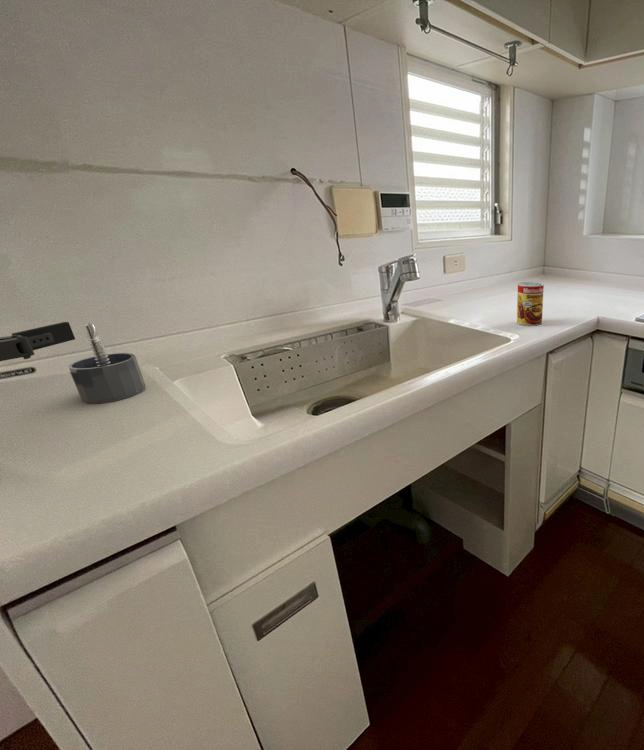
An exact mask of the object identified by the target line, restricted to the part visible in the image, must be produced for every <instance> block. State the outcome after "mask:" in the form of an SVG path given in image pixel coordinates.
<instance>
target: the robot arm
mask: <svg viewBox="0 0 644 750" xmlns="http://www.w3.org/2000/svg"><path fill="white" fill-rule="evenodd" d="M74 340H76V337H75V335H74V332H73V329H72V327H71V324H70V322H69V321H62V322H58V323H54V324H49V325H48V324H47V325H44V326H40V327H35V328H30V329H26V330H21V331H16V332H13V333H11V335H8V336H6V335H5V336H0V362H4V361H5V362H6V361H10V360H15V359H20V358H21V359H22V358H23V360H29V359H31V358H32V357H33V356H34V355H35V352H34V351H36V350H40V349H44V348H48V347H51V346H55V345H60V344H63V343H67V342H70V341H74Z"/></svg>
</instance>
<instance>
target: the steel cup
mask: <svg viewBox="0 0 644 750" xmlns="http://www.w3.org/2000/svg"><path fill="white" fill-rule="evenodd" d="M106 355H108V357H107V358H109V360H108V361H110V364H111V365H107V366H102V367H99V366H97V365H98V364H97V363H96V362H97V361H96V360H95V357H93V356H89V357H86V358H82V359H78V360H76V361H74V362H71V363H69V364H68V365H67V369H68V371H69V374H70V376H71V378H72V381H73V383H74V385H75V388H76V390H77V393H78V395H79V397H80V399H81V401H82V402H83V403H85V404H91V405H92V404H93V405H96V404H97V405H98V404H108V403H113V402H117V401H121V400H122V401H123V400H126V399H128V398H131V397H134V396H137V395H139V394H141V393H142V392H144V391H145V390H146V388H147V387H146V383H145V380H144V377H143V374H142V371H141V368H140V366H139V362H138V360H137V357H136V355H135V354H134V353H129V352H115V353H106Z"/></svg>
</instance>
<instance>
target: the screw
mask: <svg viewBox="0 0 644 750" xmlns="http://www.w3.org/2000/svg"><path fill="white" fill-rule="evenodd" d="M83 327H84V330H85V333H86V335H87V336H86V337H87V341H88V345H90V346H89V348H91V351H92V353H91V354H93V356H92V357H95V360H96V361H97V362H96V363H97V364H98V365H97V366H99V367H102V366H107V365H111V364H110V361H108V360H109V358H107V357H108V355H106V354H108V352H107V351H106V348H105V345H104V342H102V341H103V339H101V335H99V334H98V331H97V328H96V326H95V324H94V323H91V322H87V323H85V324H83Z"/></svg>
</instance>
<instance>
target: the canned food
mask: <svg viewBox="0 0 644 750" xmlns="http://www.w3.org/2000/svg"><path fill="white" fill-rule="evenodd" d="M544 286H545V284H544V283H542V282H536V281H524V282H518V283H517V304H516V323H517V324H518V325H521V326H527V327H533V326H540V325H542V324H543V308H544V306H543V305H544V289H545V288H544Z"/></svg>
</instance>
